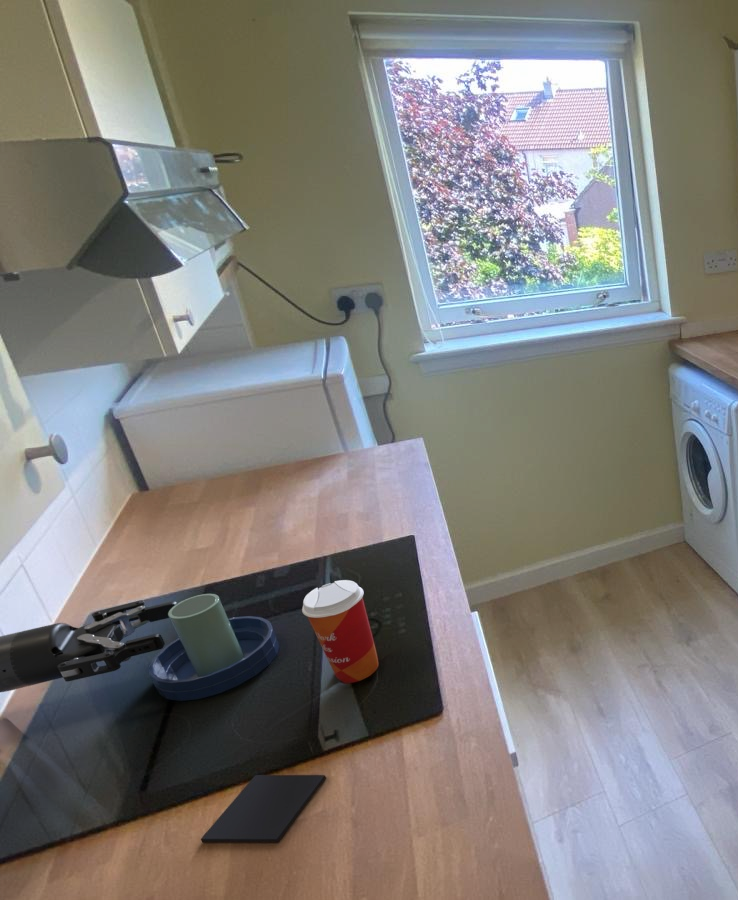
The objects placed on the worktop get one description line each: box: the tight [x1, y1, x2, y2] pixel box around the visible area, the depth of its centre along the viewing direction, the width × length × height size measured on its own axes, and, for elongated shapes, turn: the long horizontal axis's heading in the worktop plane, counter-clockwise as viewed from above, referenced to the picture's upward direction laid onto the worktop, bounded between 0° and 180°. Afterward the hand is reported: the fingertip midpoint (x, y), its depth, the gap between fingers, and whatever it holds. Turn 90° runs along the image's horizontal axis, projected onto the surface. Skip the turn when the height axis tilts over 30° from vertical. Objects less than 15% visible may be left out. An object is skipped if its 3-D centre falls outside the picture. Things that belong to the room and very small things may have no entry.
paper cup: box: [301, 579, 379, 684], centre depth 107 cm, size 8×8×14 cm
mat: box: [200, 774, 327, 844], centre depth 88 cm, size 9×9×1 cm
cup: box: [168, 593, 244, 677], centre depth 109 cm, size 6×6×11 cm
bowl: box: [148, 615, 280, 702], centre depth 111 cm, size 15×15×4 cm
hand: (170, 623), depth 106 cm, fingers open, 8 cm apart
